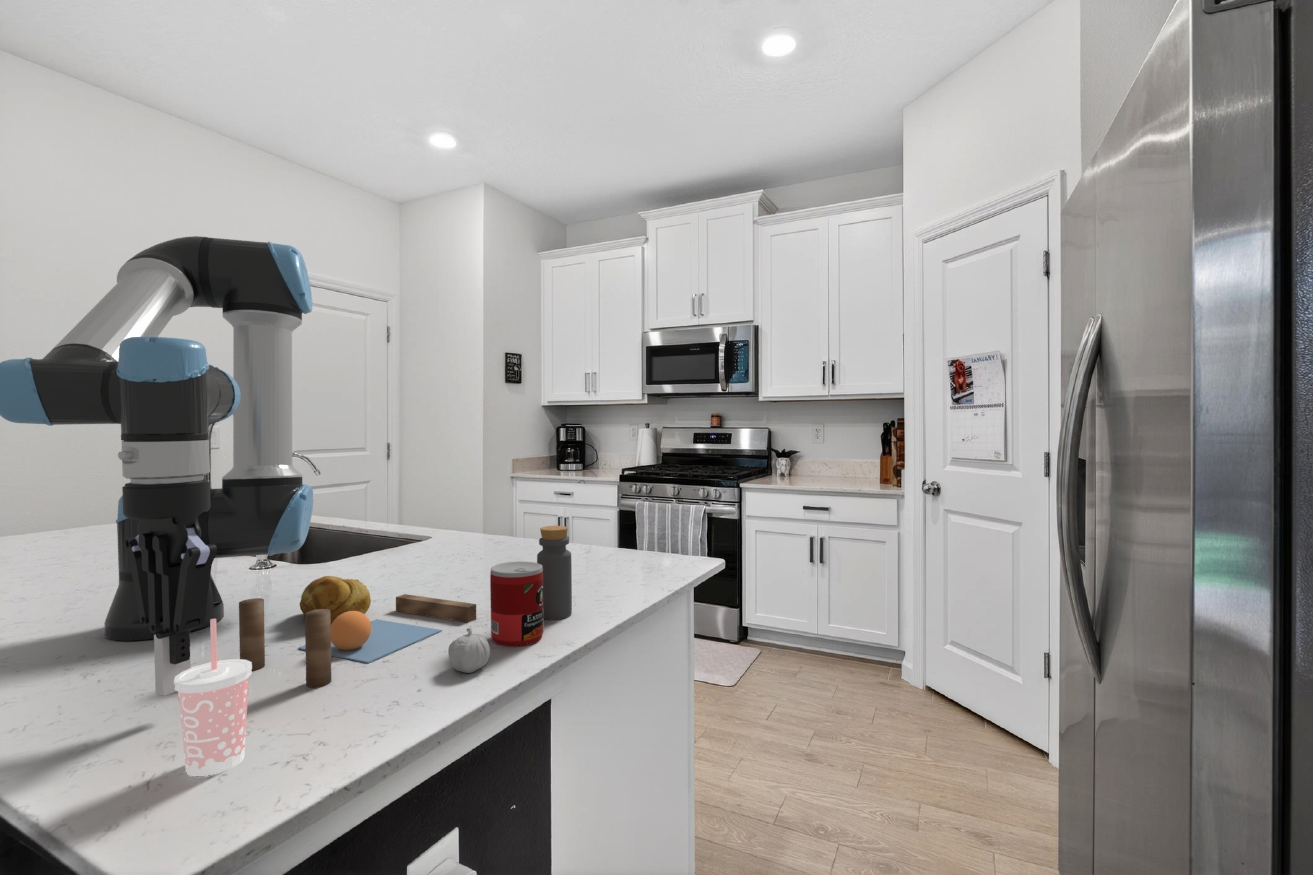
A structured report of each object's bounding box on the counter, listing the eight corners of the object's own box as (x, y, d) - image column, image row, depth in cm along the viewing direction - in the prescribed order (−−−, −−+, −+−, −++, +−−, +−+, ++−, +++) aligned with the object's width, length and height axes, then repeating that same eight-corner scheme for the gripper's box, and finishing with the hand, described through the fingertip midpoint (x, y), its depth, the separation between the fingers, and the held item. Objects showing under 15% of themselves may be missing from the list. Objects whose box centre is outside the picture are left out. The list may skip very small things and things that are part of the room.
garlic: (457, 660, 84) (457, 622, 84) (496, 660, 83) (495, 623, 83) (440, 678, 78) (440, 638, 78) (482, 678, 77) (481, 638, 77)
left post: (235, 669, 80) (234, 602, 80) (256, 662, 83) (255, 597, 83) (248, 672, 79) (247, 605, 79) (269, 665, 82) (268, 599, 82)
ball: (343, 600, 90) (359, 628, 92) (314, 628, 85) (331, 655, 88) (370, 604, 87) (385, 632, 90) (340, 633, 83) (357, 661, 85)
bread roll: (286, 618, 103) (285, 571, 102) (344, 604, 110) (343, 560, 110) (322, 633, 95) (321, 582, 95) (381, 617, 103) (380, 570, 103)
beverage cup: (159, 773, 56) (156, 625, 56) (226, 741, 62) (224, 606, 62) (203, 787, 54) (200, 633, 54) (268, 753, 60) (266, 613, 60)
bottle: (530, 617, 102) (529, 529, 102) (549, 607, 107) (548, 524, 107) (560, 621, 100) (559, 531, 99) (578, 611, 105) (577, 526, 105)
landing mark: (298, 648, 88) (298, 647, 88) (376, 620, 101) (376, 619, 101) (368, 663, 82) (368, 661, 82) (441, 631, 95) (441, 629, 95)
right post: (300, 685, 75) (299, 614, 75) (321, 676, 78) (320, 607, 78) (316, 689, 74) (315, 616, 74) (336, 680, 77) (335, 610, 77)
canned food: (531, 649, 87) (531, 574, 87) (481, 645, 89) (480, 571, 89) (551, 631, 95) (550, 562, 95) (504, 628, 97) (503, 560, 96)
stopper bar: (395, 611, 106) (395, 596, 106) (404, 607, 108) (404, 594, 107) (468, 622, 99) (468, 607, 99) (476, 618, 101) (476, 604, 101)
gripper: (92, 479, 65) (99, 692, 66) (163, 485, 60) (170, 716, 61) (170, 473, 72) (176, 666, 73) (240, 478, 67) (245, 685, 68)
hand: (173, 689), depth 67 cm, fingers closed
